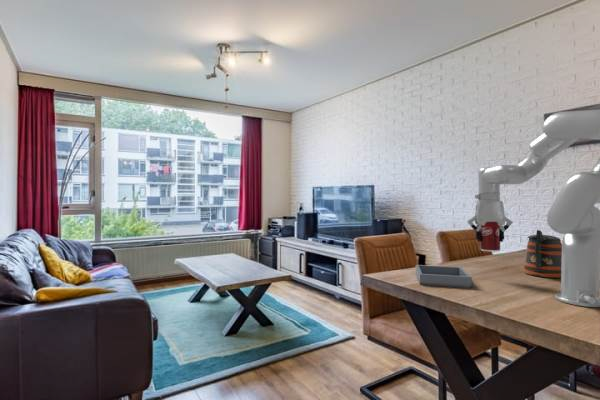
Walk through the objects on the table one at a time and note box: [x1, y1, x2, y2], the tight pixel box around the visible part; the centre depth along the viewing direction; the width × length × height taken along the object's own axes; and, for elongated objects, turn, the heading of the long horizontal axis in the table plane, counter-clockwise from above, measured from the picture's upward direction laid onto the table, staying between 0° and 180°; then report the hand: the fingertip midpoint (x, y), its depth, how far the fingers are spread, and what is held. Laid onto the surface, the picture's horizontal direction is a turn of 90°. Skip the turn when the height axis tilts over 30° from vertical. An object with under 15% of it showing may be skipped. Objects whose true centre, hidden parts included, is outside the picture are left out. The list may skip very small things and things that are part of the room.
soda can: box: [479, 221, 501, 252], centre depth 136 cm, size 7×7×12 cm
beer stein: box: [523, 229, 562, 279], centre depth 144 cm, size 19×15×20 cm
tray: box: [415, 264, 473, 289], centre depth 134 cm, size 18×18×4 cm
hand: (489, 240), depth 136 cm, fingers closed on soda can, 7 cm apart
